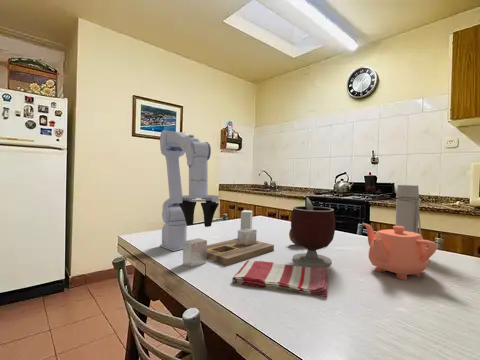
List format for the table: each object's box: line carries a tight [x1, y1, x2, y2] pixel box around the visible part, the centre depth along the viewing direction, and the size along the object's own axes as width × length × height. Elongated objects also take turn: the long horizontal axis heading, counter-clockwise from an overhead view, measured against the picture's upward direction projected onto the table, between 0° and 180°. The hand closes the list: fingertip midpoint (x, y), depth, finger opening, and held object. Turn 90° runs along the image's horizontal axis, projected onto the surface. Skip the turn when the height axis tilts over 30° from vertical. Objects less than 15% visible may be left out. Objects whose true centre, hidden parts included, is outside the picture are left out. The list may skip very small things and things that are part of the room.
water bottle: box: [395, 184, 422, 235], centre depth 98 cm, size 9×8×25 cm
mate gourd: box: [290, 197, 336, 268], centre depth 87 cm, size 16×14×20 cm
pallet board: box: [207, 237, 275, 266], centre depth 94 cm, size 16×24×2 cm, turn 137°
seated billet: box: [237, 228, 258, 247], centre depth 99 cm, size 4×6×7 cm, turn 137°
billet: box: [182, 238, 208, 268], centre depth 81 cm, size 4×6×7 cm, turn 137°
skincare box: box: [240, 209, 253, 230], centre depth 115 cm, size 6×4×12 cm
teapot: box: [361, 222, 438, 281], centre depth 78 cm, size 16×17×14 cm
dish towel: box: [231, 259, 328, 298], centre depth 71 cm, size 17×23×3 cm
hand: (198, 225), depth 80 cm, fingers open, 7 cm apart
